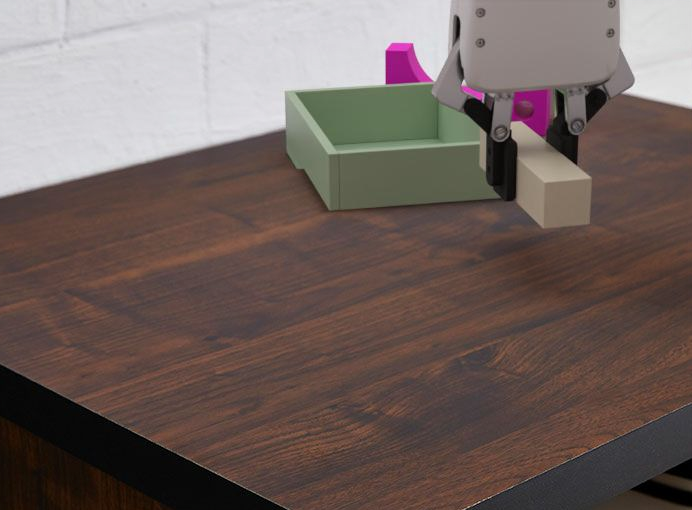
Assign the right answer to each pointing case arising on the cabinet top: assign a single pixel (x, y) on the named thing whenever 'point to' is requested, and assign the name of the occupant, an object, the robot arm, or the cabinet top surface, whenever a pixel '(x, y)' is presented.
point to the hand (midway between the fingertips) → (530, 190)
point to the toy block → (408, 70)
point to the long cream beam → (546, 181)
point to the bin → (384, 146)
